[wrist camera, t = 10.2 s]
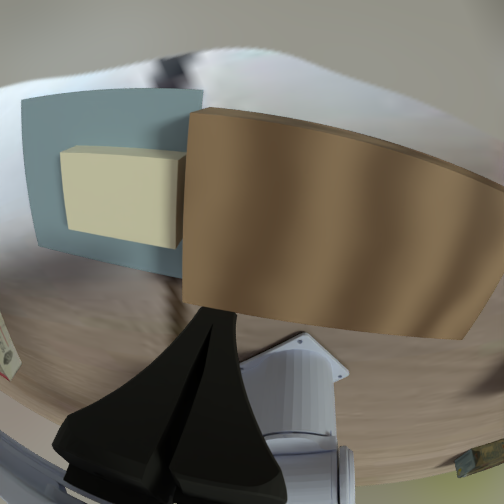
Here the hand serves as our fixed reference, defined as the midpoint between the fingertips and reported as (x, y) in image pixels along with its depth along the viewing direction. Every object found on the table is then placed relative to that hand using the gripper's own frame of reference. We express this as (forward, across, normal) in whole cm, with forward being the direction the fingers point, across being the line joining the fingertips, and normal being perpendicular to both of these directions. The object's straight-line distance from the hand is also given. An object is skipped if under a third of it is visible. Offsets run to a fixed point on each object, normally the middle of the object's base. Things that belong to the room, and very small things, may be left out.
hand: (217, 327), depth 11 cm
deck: (+10, -8, -1) cm, 13 cm away
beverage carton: (+11, -67, +50) cm, 84 cm away
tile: (+10, +9, -1) cm, 13 cm away
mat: (+10, +12, -1) cm, 16 cm away
